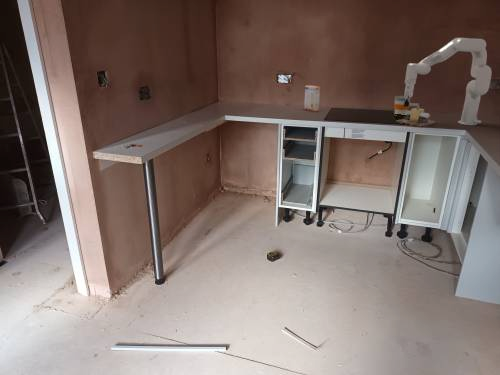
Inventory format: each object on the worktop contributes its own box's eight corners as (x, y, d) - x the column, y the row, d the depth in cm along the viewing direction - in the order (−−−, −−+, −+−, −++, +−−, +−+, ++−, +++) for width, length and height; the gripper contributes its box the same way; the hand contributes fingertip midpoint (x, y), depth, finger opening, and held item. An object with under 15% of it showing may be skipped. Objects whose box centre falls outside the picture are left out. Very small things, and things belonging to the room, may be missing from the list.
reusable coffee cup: (401, 116, 307) (404, 98, 301) (389, 114, 317) (391, 96, 311) (411, 115, 312) (414, 96, 307) (399, 112, 322) (401, 95, 317)
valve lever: (419, 108, 283) (420, 103, 281) (419, 109, 280) (420, 103, 279) (403, 107, 287) (404, 102, 286) (403, 107, 285) (404, 102, 283)
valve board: (435, 123, 284) (436, 117, 282) (420, 127, 273) (421, 120, 271) (411, 119, 299) (412, 113, 297) (396, 122, 288) (397, 116, 286)
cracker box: (319, 111, 333) (320, 86, 325) (313, 111, 330) (315, 87, 322) (309, 108, 344) (310, 85, 336) (303, 109, 341) (304, 85, 333)
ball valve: (429, 122, 280) (431, 110, 277) (424, 123, 277) (426, 111, 274) (407, 118, 294) (409, 106, 290) (403, 119, 291) (404, 107, 287)
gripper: (414, 82, 267) (410, 108, 274) (417, 80, 279) (412, 105, 286) (403, 81, 271) (399, 107, 278) (406, 79, 283) (402, 104, 290)
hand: (406, 106), depth 282 cm, fingers closed
